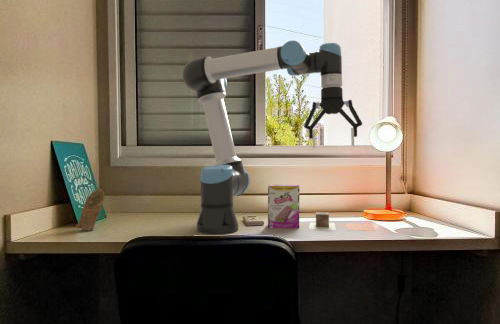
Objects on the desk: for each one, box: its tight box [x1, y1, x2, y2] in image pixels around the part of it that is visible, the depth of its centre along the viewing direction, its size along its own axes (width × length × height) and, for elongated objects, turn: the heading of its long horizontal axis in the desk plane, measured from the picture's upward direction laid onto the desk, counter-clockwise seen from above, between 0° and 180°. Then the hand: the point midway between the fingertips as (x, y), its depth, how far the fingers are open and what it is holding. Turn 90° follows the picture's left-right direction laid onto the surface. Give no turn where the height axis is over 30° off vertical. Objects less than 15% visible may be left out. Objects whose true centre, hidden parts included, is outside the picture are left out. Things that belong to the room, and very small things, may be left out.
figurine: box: [75, 188, 105, 231], centre depth 135 cm, size 8×8×15 cm
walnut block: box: [315, 211, 330, 227], centre depth 131 cm, size 4×4×4 cm
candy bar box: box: [267, 184, 300, 229], centre depth 131 cm, size 11×5×16 cm, turn 84°
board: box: [308, 222, 377, 232], centre depth 130 cm, size 24×14×2 cm, turn 79°
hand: (333, 147), depth 132 cm, fingers open, 13 cm apart
